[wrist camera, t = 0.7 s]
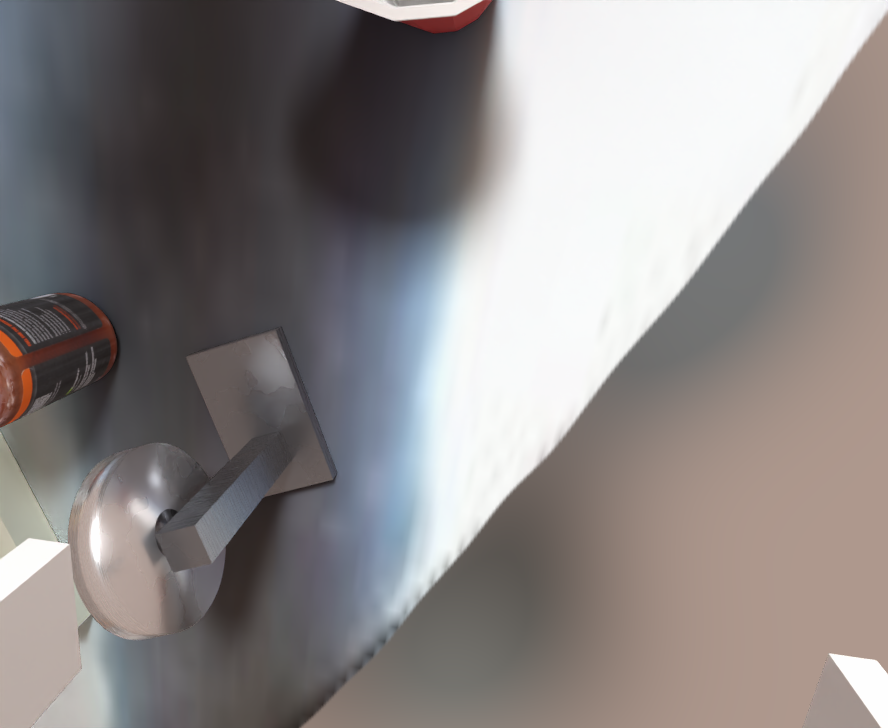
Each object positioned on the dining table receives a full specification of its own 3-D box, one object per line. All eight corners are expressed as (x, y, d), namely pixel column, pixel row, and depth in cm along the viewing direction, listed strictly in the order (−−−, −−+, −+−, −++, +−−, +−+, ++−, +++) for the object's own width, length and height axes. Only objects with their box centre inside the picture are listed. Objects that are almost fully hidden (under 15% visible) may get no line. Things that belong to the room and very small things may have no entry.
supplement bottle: (31, 281, 37) (-164, 318, 26) (124, 301, 37) (-33, 348, 26) (31, 371, 39) (-152, 442, 28) (119, 392, 38) (-30, 471, 28)
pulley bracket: (182, 356, 37) (-6, 454, 23) (281, 326, 36) (145, 410, 22) (251, 515, 40) (119, 688, 26) (344, 492, 39) (259, 659, 25)
